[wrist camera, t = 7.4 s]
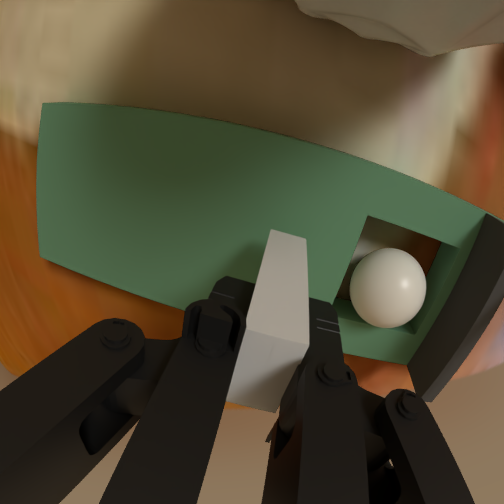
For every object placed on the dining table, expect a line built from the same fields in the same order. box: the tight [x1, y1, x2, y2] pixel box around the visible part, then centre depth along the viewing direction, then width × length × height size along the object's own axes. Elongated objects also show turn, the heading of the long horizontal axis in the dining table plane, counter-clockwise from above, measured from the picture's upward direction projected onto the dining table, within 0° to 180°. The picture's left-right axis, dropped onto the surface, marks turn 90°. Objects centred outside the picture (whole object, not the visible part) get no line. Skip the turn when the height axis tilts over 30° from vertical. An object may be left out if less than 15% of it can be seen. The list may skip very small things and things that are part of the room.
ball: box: [350, 248, 426, 328], centre depth 14 cm, size 4×4×4 cm
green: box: [36, 102, 504, 402], centre depth 11 cm, size 28×10×12 cm, turn 77°
